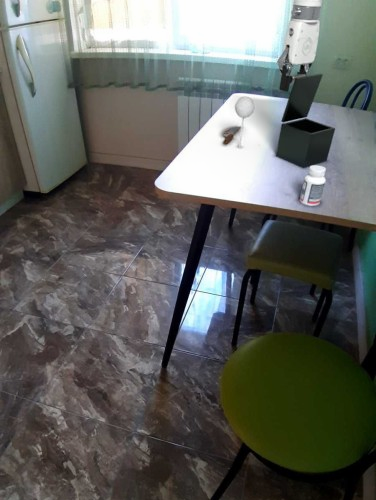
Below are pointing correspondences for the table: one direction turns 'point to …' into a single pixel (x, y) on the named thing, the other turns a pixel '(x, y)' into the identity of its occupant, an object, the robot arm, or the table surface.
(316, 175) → the pill bottle
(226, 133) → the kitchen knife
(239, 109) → the lollipop
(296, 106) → the bin lid
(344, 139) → the table surface
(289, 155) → the bin
